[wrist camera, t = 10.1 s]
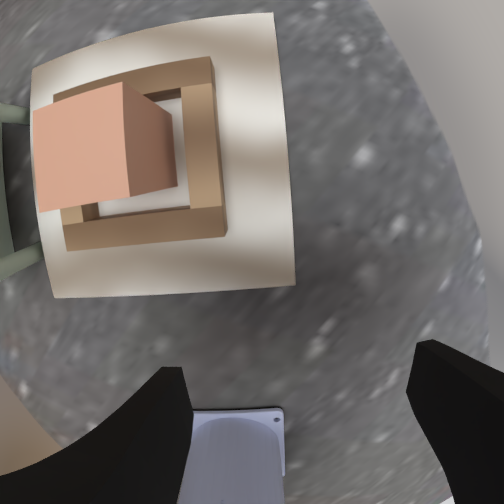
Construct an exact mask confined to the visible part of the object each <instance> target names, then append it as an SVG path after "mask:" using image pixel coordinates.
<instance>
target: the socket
mask: <svg viewBox="0 0 504 504" xmlns="http://www.w3.org/2000/svg"><path fill="white" fill-rule="evenodd" d="M119 82H124V83H125V84H127V85H128V86H130V87H131V88H133V89H134V90H136V91H138V92H139V93H141V94H142V95H144V96H145V97H147V98H148V99H150V100H151V101H153V102H154V103H156V104H157V105H159V106H160V107H162V108H163V109H164V110H166V111H167V112H169V113H170V114H172V122H173V136H174V149H175V160H176V171H177V182H178V186H177V187H172V188H168V189H163V190H159V191H154V192H150V193H146V194H141V195H137V196H133V197H128V198H122V199H115V200H109V201H102V202H96V203H90V204H85V205H79V206H73V207H68V208H62V209H57V210H52V211H47V212H42V213H39V206H38V198H37V189H36V179H35V167H34V151H33V111H34V110H37V109H39V108H42V107H44V106H47V105H50V104H52V103H55V102H58V101H60V100H63V99H66V98H69V97H72V96H75V95H78V94H81V93H84V92H87V91H91V90H94V89H97V88H101V87H104V86H108V85H112V84H115V83H119ZM30 144H31V163H32V176H33V187H34V196H35V204H36V211H37V218H38V225H39V231H40V236H41V242H42V247H43V252H44V257H45V262H46V266H47V271H48V275H49V279H50V283H51V287H52V291H53V295H54V298H81V297H113V296H139V295H160V294H179V293H196V292H212V291H227V290H241V289H255V288H267V287H280V286H291V285H295V261H294V240H293V222H292V205H291V190H290V176H289V163H288V150H287V138H286V127H285V116H284V105H283V95H282V85H281V76H280V67H279V58H278V49H277V41H276V33H275V25H274V17H273V13H254V14H239V15H228V16H219V17H211V18H203V19H196V20H190V21H184V22H178V23H173V24H168V25H163V26H158V27H154V28H149V29H145V30H141V31H137V32H133V33H129V34H126V35H122V36H119V37H115V38H112V39H109V40H105V41H102V42H99V43H96V44H93V45H90V46H87V47H84V48H82V49H79V50H76V51H74V52H71V53H68V54H66V55H63V56H61V57H58V58H56V59H54V60H51V61H49V62H47V63H44V64H42V65H40V66H38V67H36V68H33V69H32V80H31V98H30Z"/></svg>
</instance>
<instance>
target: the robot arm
mask: <svg viewBox="0 0 504 504" xmlns="http://www.w3.org/2000/svg"><path fill="white" fill-rule="evenodd" d="M406 393H407V396H408V399H409V402H410V404H411V407H412V410H413V412H414V415H415V417H416V419H417V421H418V423H419V424H420V426H421V428H422V430H423V432H424V434H425V436H426V437H427V439H428V441H429V443H430V445H431V446H432V448H433V450H434V452H435V454H436V456H437V458H438V460H439V461H440V463H441V465H442V468H443V470H444V472H445V474H446V477H447V480H448V483H449V486H450V489H451V492H452V495H453V498H454V502H455V504H504V373H503V372H501V371H499V370H496V369H494V368H492V367H490V366H488V365H486V364H484V363H481V362H479V361H477V360H475V359H473V358H471V357H469V356H467V355H465V354H463V353H461V352H459V351H458V350H455V349H453V348H451V347H449V346H447V345H445V344H443V343H441V342H438V341H436V340H433V339H431V340H427V341H422V342H418V343H417V344H416V349H415V354H414V359H413V364H412V368H411V373H410V377H409V381H408V385H407V389H406ZM275 418H278V419H275ZM184 470H185V471H184ZM183 474H184V476H183ZM284 475H285V448H284V414H283V410H282V409H280V408H268V409H253V410H230V411H193V410H192V406H191V402H190V399H189V395H188V391H187V387H186V383H185V379H184V376H183V371H182V367H161V368H160V369H159V370H158V371H157V372H156V373H155V374H154V375H153V376H152V377H151V378H150V379H149V380H148V381H147V382H146V383H145V384H144V385H143V386H142V387H141V388H140V389H139V390H138V391H137V392H136V393H135V394H134V395H133V396H131V397H130V398H129V399H128V400H127V401H126V402H125V403H124V404H123V405H122V406H121V407H120V408H118V409H117V410H116V411H115V412H114V413H113V414H111V415H110V416H109V417H108V418H107V419H105V420H104V421H103V422H102V423H101V424H99V425H98V426H97V427H96V428H94V429H93V430H92V431H90V432H89V433H87V434H86V435H85V436H83V437H82V438H80V439H79V440H77V441H76V442H74V443H72V444H71V445H69V446H68V447H66V448H64V449H63V450H61V451H59V452H57V453H55V454H53V455H51V456H49V457H47V458H45V459H43V460H42V461H39V462H37V463H35V464H33V465H30V466H28V467H25V468H23V469H20V470H17V471H15V472H11V473H9V474H6V475H2V476H0V504H177V498H178V494H179V490H180V486H181V482H182V487H181V492H180V497H179V502H178V504H285V498H284V487H283V476H284ZM182 478H183V481H182Z"/></svg>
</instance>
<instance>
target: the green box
mask: <svg viewBox="0 0 504 504" xmlns="http://www.w3.org/2000/svg"><path fill="white" fill-rule="evenodd" d="M2 122H5V123H14V124H22V125H29V124H30V108H25V107H20V106H15V105H10V104H4V103H0V281H2V280H4V279H5V278H7V277H9V276H11V275H13V274H15V273H17V272H19V271H20V270H22V269H24V268H26V267H28V266H30V265H32V264H34V263H36V262H38V261H40V260H42V259H44V258H45V257H44V252H43V247H42V242H38V243H36V244H33V245H31V246H29V247H26V248H24V249H22V250H19V251H17V252H14V247H13V241H12V236H11V230H10V224H9V218H8V211H7V203H6V194H5V184H4V172H3V154H2Z"/></svg>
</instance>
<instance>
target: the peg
mask: <svg viewBox="0 0 504 504" xmlns="http://www.w3.org/2000/svg"><path fill="white" fill-rule="evenodd" d="M33 151H34V167H35V179H36V189H37V198H38V206H39V213H42V212H47V211H52V210H57V209H62V208H68V207H73V206H79V205H85V204H90V203H96V202H102V201H109V200H115V199H122V198H128V197H133V196H137V195H141V194H146V193H150V192H154V191H159V190H163V189H168V188H172V187H177V186H178V182H177V171H176V160H175V149H174V136H173V122H172V114H170V113H169V112H167V111H166V110H164V109H163V108H162V107H160V106H159V105H157V104H156V103H154V102H153V101H151V100H150V99H148V98H147V97H145V96H144V95H142V94H141V93H139V92H138V91H136V90H134V89H133V88H131V87H130V86H128V85H127V84H125V83H124V82H119V83H115V84H112V85H108V86H104V87H101V88H97V89H94V90H91V91H87V92H84V93H81V94H78V95H75V96H72V97H69V98H66V99H63V100H60V101H58V102H55V103H52V104H50V105H47V106H44V107H42V108H39V109H37V110H34V111H33Z"/></svg>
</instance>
